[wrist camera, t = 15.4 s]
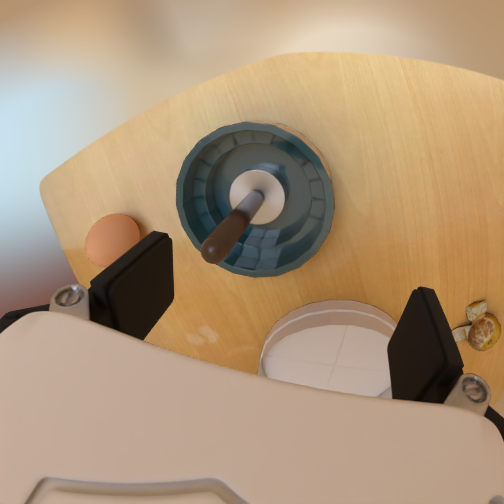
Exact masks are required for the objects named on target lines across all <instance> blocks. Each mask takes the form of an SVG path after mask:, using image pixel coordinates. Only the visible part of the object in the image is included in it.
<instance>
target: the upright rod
mask: <svg viewBox="0 0 504 504" xmlns="http://www.w3.org/2000/svg"><path fill="white" fill-rule="evenodd" d="M287 198H288V189H287V185H286V183H285V180H284V179H283V177H282V176H281V175H280V174H279V173H278V172H277V171H275V170H273V169H271V168H269V167H265V166H255V167H251V168H249V169H247V170H245V171H244V172H243V173H241V174H240V175H238V176H237V177H236V178H235V180H234V181H233V183H232V185H231V187H230V191H229V200H230V204H231V207H232V209H233V211H232V212H231V213H230V214H229V215H228V216H227V217H226V218H225V219H224V220H223V221H222V222H221V223H220V224H219V225H218V227H217V228H216V229H215V230H214V231H213V232H212V233H211V234H210V235H209V236H208V237H207V238H206V240H205V241H204V242H203V243H202V246H201V255H202V257H203V259H204V260H205V261H207V262H208V263H211V264H218V263H220V262H222V261H223V260H224V259H225V258H226V257H227V255H228V254H229V252H230V251H231V249H232V248H233V247H234V245H235V244H236V242H237V241H238V239H239V238H240V236H241V235H242V233H243V232H244V230H245V229H246V228H247V226H248V225H249V223H251V224H256V225H262V224H267V223H270V222H272V221H273V220H275V219H276V218H277V217H278V216H279V215H280V214H281V212H282V211H283V209H284V206H285V204H286V201H287Z"/></svg>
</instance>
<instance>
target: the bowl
mask: <svg viewBox="0 0 504 504" xmlns="http://www.w3.org/2000/svg"><path fill="white" fill-rule="evenodd" d="M255 166H265V167H269V168H271V169H273V170H275V171H277V172H278V173H279V174H280V175H281V176H282V177H283V179H284V180H285V183H286V185H287V189H288V198H287V201H286V204H285V206H284V209H283V211H282V212H281V214H280V215H279V216H278V217H277V218H276V219H275V220H273V221H272V222H270V223H267V224H262V225H256V224H251V223H249V225H248V226H247V228H246V229H245V230H244V232H243V233H242V235H241V236H240V238H239V239H238V241H237V242H236V244H235V245H234V247H233V248H232V249H231V251H230V252H229V254H228V255H227V257H226V258H225V259H224V260H223V261H222V262H220V263H218V264H216V265H218V266H220V267H222V268H224V269H226V270H228V271H230V272H232V273H235V274H240V275H244V276H249V277H254V278H256V277H270V276H278V275H281V274H283V273H286V272H289V271H291V270H294V269H296V268H298V267H300V266H301V265H303V264H304V263H305V262H306V261H308V260H309V259H310V258H311V257H312V256H314V255H315V254H316V253H317V252H318V250H319V249H320V247H321V245H322V244H323V242H324V240H325V239H326V237H327V236H328V234H329V232H330V228H331V223H332V219H333V214H334V209H335V205H334V196H333V188H332V181H331V174H330V170H329V168H328V166H327V164H326V162H325V160H324V158H323V156H322V154H321V152H320V151H319V150H318V149H317V148H316V147H315V146H314V145H313V144H312V143H311V142H310V141H309V140H308V139H307V138H306V137H305V136H304V135H303V134H302V133H300V132H298V131H296V130H293V129H291V128H289V127H287V126H285V125H283V124H280V123H272V122H264V121H249V122H241V123H237V124H232V125H228V126H224V127H221V128H218V129H217V130H215V131H214V132H212V133H210V134H209V135H207V136H206V137H204V138H203V139H201V140H200V141H199V142H198V143H197V144H196V145H195V147H194V148H193V149H192V150H191V152H190V153H189V154H188V155H187V157H186V158H185V160H184V162H183V164H182V167H181V170H180V173H179V176H178V179H177V183H176V206H177V210H178V214H179V217H180V221H181V224H182V227H183V229H184V230H185V232H186V234H187V235H188V237H189V238H190V240H191V242H192V243H193V245H194V246H195V248H197V249H198V250H199V251H200V252H201V246H202V243H203V242H204V241H205V240H206V238H207V237H208V236H209V235H210V234H211V233H212V232H213V231H214V230H215V229H216V228H217V227H218V225H219V224H220V223H221V222H222V221H223V220H224V219H225V218H226V217H227V216H228V215H229V214H230V213H231V212H232V211H233V209H232V207H231V204H230V200H229V191H230V187H231V185H232V183H233V181H234V180H235V178H236V177H237V176H238V175H240V174H241V173H243V172H244V171H245V170H247V169H249V168H251V167H255Z"/></svg>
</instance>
